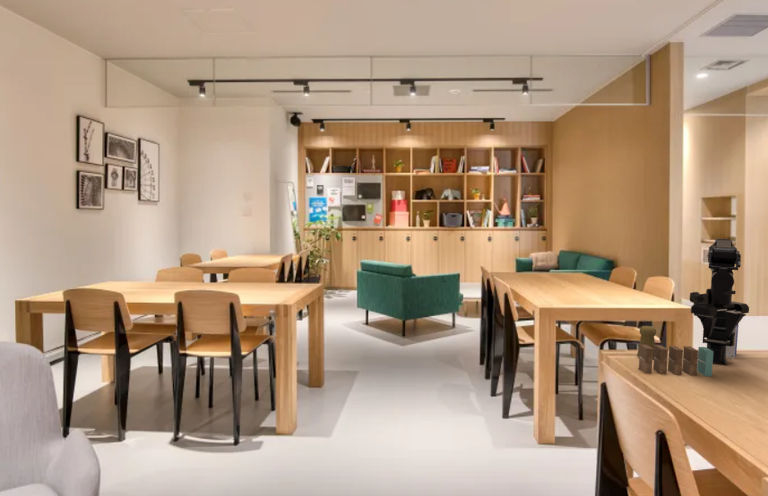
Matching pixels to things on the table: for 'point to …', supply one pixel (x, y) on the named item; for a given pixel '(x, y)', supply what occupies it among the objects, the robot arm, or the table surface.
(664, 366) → the domino
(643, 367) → the domino
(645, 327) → the cork
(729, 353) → the walkman
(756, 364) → the table surface
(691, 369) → the domino
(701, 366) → the domino
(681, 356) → the domino
